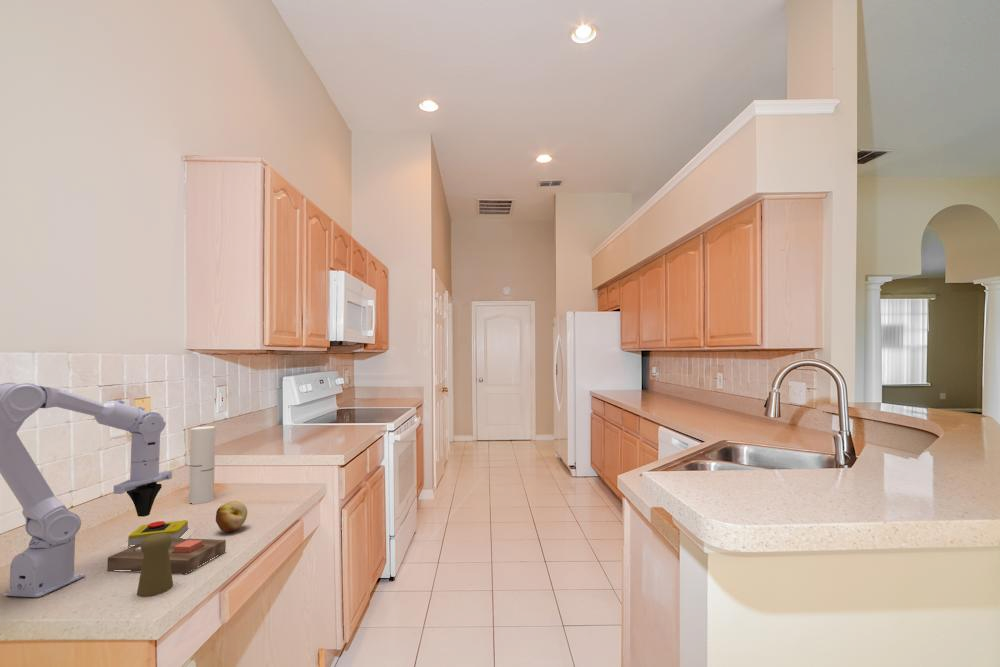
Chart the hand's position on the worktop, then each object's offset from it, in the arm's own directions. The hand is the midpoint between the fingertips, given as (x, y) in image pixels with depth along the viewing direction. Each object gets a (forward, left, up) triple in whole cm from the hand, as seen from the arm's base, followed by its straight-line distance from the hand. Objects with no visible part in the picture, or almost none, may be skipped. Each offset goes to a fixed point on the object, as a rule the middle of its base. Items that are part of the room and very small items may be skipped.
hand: (143, 515), depth 115 cm
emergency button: (+11, +5, -10) cm, 16 cm away
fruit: (+17, -11, -10) cm, 22 cm away
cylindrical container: (+43, +20, -10) cm, 48 cm away
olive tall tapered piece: (-16, -19, -10) cm, 27 cm away
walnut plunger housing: (-3, -10, -9) cm, 14 cm away
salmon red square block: (-3, -15, -8) cm, 17 cm away
